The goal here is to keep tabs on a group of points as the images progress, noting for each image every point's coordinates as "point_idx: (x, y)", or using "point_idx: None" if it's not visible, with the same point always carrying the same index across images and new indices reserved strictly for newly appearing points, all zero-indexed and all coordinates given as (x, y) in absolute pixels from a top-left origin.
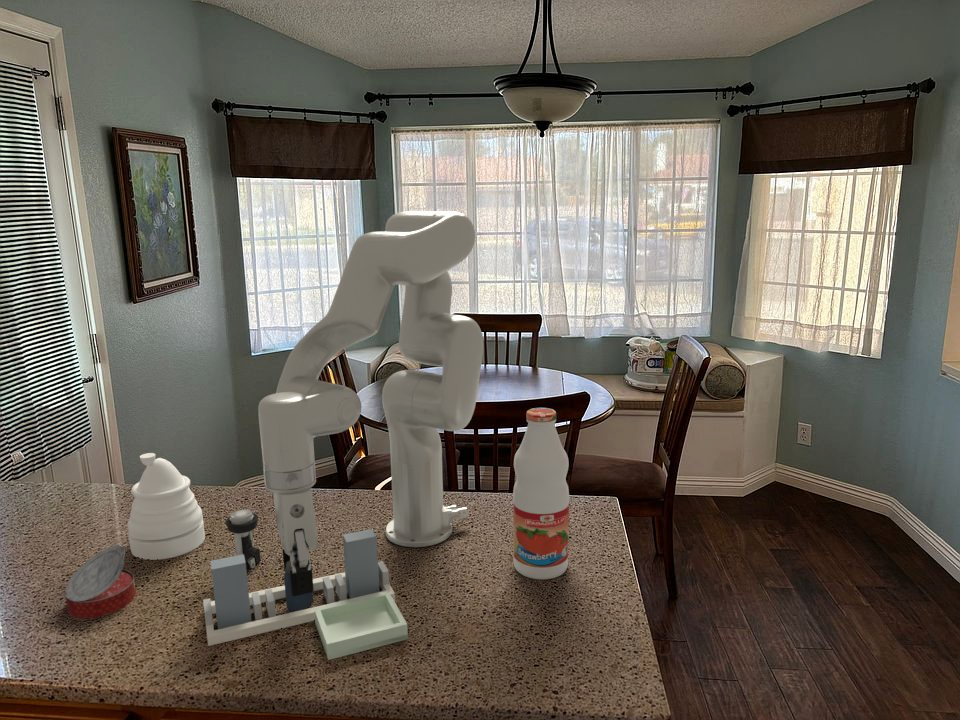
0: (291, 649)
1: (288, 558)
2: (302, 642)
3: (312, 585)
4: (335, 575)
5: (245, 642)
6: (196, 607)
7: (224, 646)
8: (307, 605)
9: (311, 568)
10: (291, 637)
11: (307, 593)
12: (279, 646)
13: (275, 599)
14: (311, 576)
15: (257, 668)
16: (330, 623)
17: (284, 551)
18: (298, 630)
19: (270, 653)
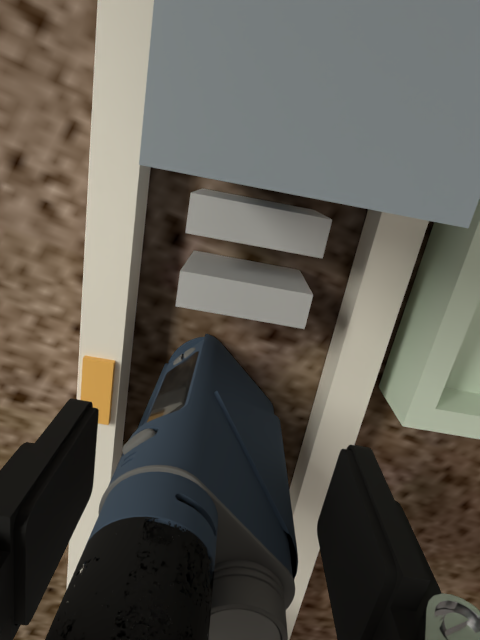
0: (462, 496)
1: (55, 554)
2: (454, 458)
3: (380, 473)
4: (192, 232)
5: (323, 581)
6: (41, 632)
7: (302, 622)
8: (245, 373)
9: (427, 580)
10: (398, 476)
11: (240, 396)
12: (418, 518)
13: (121, 449)
14: (398, 523)
15: (473, 588)
16: (466, 361)
17: (14, 622)
18: (375, 446)
19: (432, 546)
